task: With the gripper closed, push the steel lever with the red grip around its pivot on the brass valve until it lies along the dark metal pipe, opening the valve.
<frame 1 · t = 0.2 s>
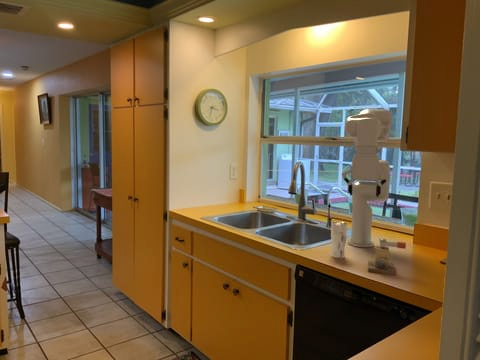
hand: (363, 195, 149), 31 cm above the table, tool pointing down, fingers open, 9 cm apart
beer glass: (337, 256, 174), on the table
valve: (381, 269, 157), on the table
valve lever: (392, 244, 155), point 11 cm above the table, hinge at 0.0°
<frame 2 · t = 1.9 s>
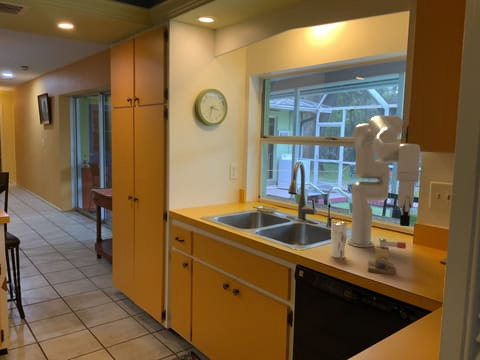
hand: (404, 225, 147), 20 cm above the table, tool pointing down, fingers closed
nothing on the table moved.
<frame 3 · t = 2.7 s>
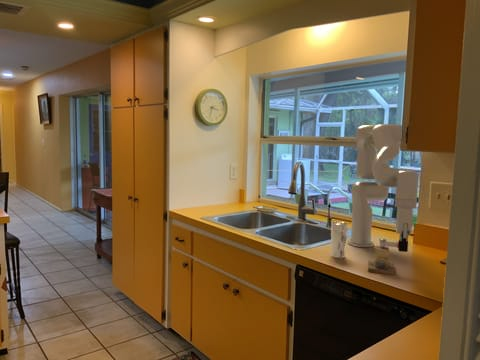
hand: (402, 250, 148), 10 cm above the table, tool pointing down, fingers closed
nothing on the table moved.
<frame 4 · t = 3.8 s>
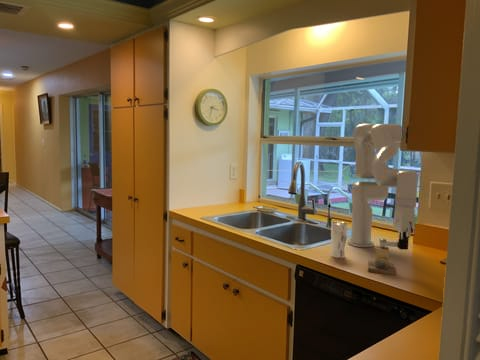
hand: (403, 248, 152), 10 cm above the table, tool pointing down, fingers closed
valve lever: (392, 244, 155), point 11 cm above the table, hinge at 6.6°, touching gripper
everything else where it was.
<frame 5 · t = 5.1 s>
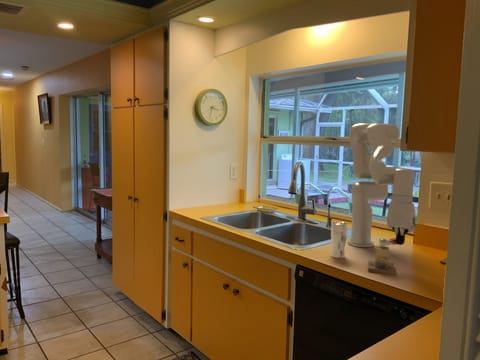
hand: (400, 244, 157), 10 cm above the table, tool pointing down, fingers closed
valve lever: (388, 242, 158), point 11 cm above the table, hinge at 48.4°, touching gripper
everything else where it was.
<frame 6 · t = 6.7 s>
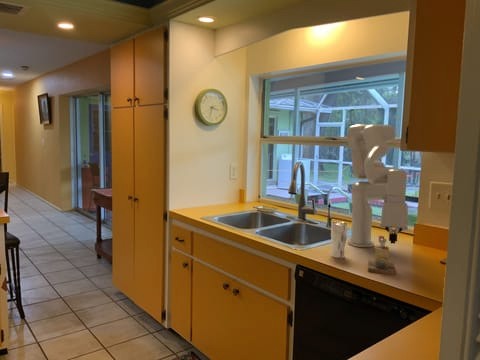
hand: (392, 242, 161), 10 cm above the table, tool pointing down, fingers closed
valve lever: (382, 241, 160), point 11 cm above the table, hinge at 92.3°
everything else where it was.
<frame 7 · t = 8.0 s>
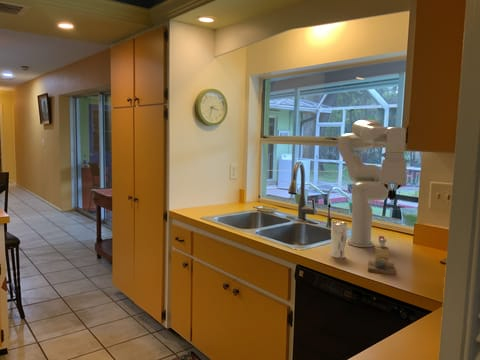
hand: (391, 199, 166), 27 cm above the table, tool pointing down, fingers closed
nothing on the table moved.
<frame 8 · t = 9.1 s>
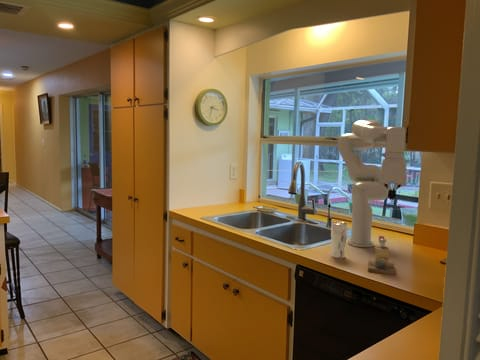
hand: (391, 199, 166), 27 cm above the table, tool pointing down, fingers closed
nothing on the table moved.
at the end: valve lever at +92° (first picture: +0°); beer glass moved 0.2 cm from its start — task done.
